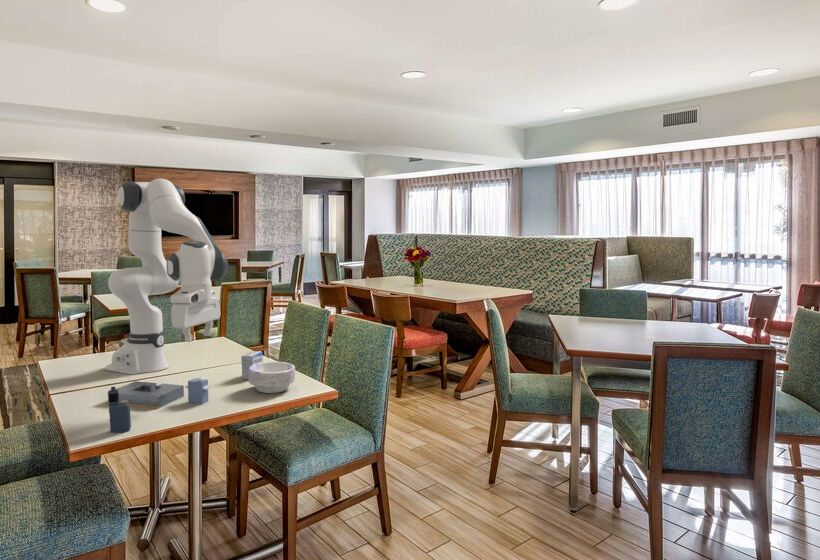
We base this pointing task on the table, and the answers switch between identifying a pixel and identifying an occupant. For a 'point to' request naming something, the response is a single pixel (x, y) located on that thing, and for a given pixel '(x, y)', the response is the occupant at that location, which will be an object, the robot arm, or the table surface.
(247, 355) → the medicine box
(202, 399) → the servo block
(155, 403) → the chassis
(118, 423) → the vaping device
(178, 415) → the table surface
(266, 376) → the paper bowls
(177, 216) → the robot arm
